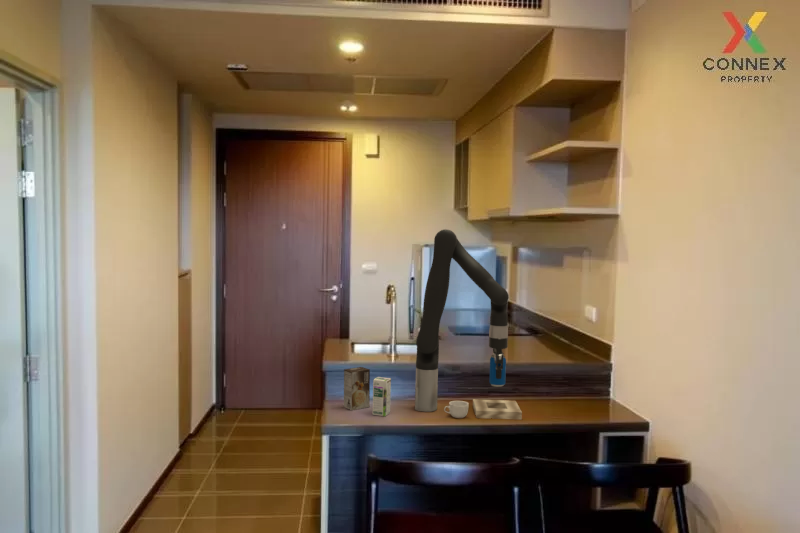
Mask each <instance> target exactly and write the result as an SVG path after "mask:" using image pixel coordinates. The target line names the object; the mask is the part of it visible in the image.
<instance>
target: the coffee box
mask: <svg viewBox="0 0 800 533" xmlns="http://www.w3.org/2000/svg"><path fill="white" fill-rule="evenodd" d="M370 371H371V369H369V368H368V367H367V368H366V367H363V366H358V367H352V368H351V367H350V368H344V369H343V408H345V409H348V410H349V409H350V410H349V411H357V410H360V409H364V408H365V409H366V408H370V405H371V404H370V399H371V398H370V394H371V393H370V390H371V388H370V387H371V386H370V382H371V381H370V379H371V377H370V376H371V375H370V374H371V372H370Z"/></svg>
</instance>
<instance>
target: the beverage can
mask: <svg viewBox="0 0 800 533" xmlns="http://www.w3.org/2000/svg"><path fill="white" fill-rule="evenodd" d="M496 361H497V359H496ZM494 362H495V360H494V356H493V354H492V355H491V356H490V359H489V379H488V380H489V384H490V385H491V387H495V388H496V387H497V388H498V387H499V388H500V387H504V385H506V379H507V378H506V375H507V374H506V373H507V372H506V371H507V359H506V356H505V355H504V357H503V369H502V375H501V379H497V378H496V364H495V363H494ZM498 366H501V364H498Z"/></svg>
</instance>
